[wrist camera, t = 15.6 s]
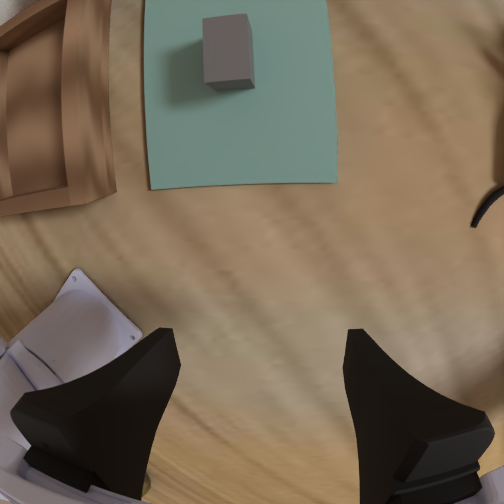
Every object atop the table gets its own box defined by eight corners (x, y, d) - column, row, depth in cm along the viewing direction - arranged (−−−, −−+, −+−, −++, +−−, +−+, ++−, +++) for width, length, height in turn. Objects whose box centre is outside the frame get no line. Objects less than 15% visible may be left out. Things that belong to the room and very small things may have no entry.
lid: (334, 180, 19) (347, 190, 15) (156, 187, 20) (131, 198, 17) (318, -32, 14) (324, -61, 10) (151, -14, 15) (129, -36, 11)
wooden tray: (116, 191, 20) (75, 207, 15) (15, 207, 21) (-24, 223, 17) (121, -69, 12) (94, -94, 7) (21, -17, 13) (-10, -27, 9)
